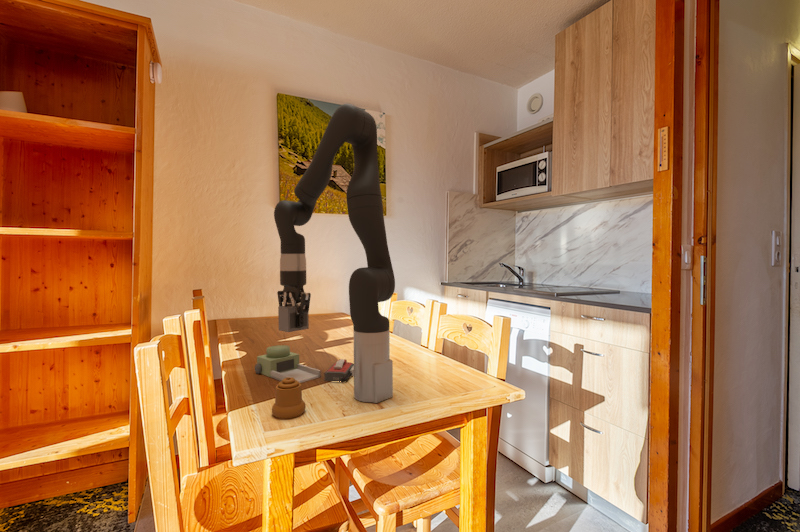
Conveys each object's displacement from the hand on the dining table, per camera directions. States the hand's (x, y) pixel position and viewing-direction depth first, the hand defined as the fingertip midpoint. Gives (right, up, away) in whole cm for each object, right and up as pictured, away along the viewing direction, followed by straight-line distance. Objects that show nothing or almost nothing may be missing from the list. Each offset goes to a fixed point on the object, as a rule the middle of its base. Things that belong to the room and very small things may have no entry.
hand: (293, 326), depth 115 cm
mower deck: (-3, -15, +3) cm, 16 cm away
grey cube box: (0, -1, 0) cm, 1 cm away
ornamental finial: (+6, -16, -25) cm, 31 cm away
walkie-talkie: (+15, -16, +5) cm, 22 cm away
